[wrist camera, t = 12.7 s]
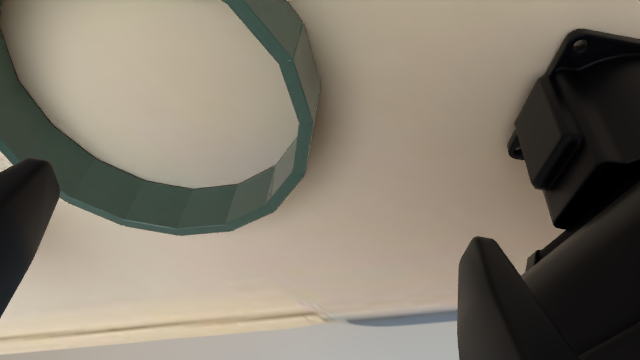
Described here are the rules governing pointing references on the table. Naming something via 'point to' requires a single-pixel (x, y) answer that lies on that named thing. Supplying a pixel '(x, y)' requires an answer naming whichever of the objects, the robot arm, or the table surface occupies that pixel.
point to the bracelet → (159, 199)
